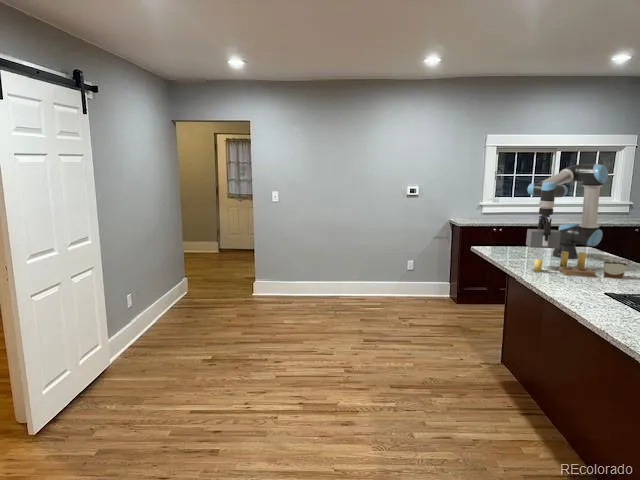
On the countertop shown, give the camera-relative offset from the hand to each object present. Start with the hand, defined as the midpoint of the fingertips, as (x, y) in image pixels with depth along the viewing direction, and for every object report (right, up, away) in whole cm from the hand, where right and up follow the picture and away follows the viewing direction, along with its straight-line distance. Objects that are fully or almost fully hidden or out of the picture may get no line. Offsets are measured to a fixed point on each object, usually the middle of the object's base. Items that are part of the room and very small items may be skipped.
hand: (542, 244), depth 260 cm
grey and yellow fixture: (-1, -17, -4) cm, 17 cm away
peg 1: (+17, -15, +8) cm, 24 cm away
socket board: (+16, -17, -7) cm, 25 cm away
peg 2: (+27, -15, +6) cm, 32 cm away
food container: (+33, -19, -13) cm, 41 cm away
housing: (0, -1, 0) cm, 1 cm away
